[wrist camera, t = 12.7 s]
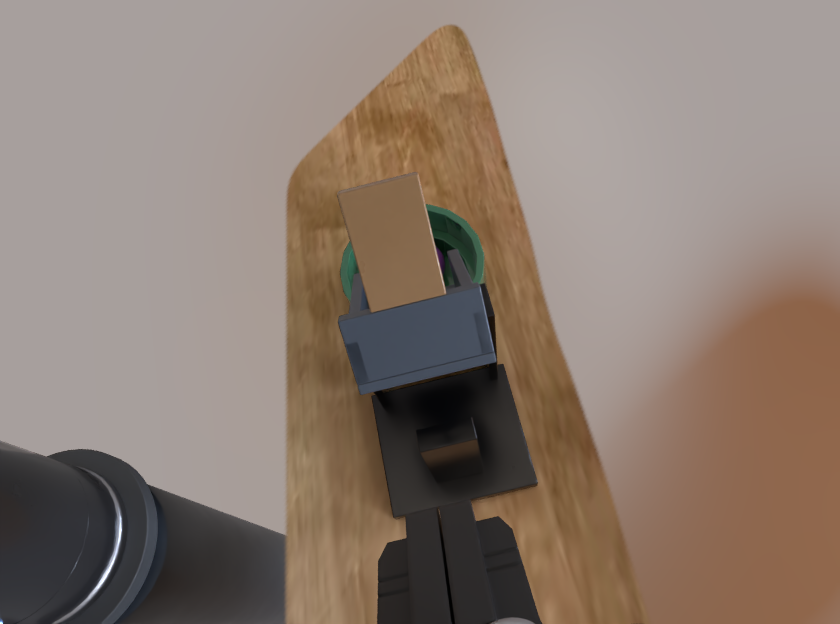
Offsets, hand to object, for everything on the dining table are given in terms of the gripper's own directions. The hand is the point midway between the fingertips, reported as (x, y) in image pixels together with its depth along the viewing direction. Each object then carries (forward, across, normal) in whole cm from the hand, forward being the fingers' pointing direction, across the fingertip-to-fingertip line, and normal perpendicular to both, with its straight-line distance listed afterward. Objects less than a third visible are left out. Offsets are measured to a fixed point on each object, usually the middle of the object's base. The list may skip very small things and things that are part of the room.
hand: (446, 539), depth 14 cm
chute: (+18, 0, +2) cm, 18 cm away
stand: (+24, 0, +11) cm, 27 cm away
